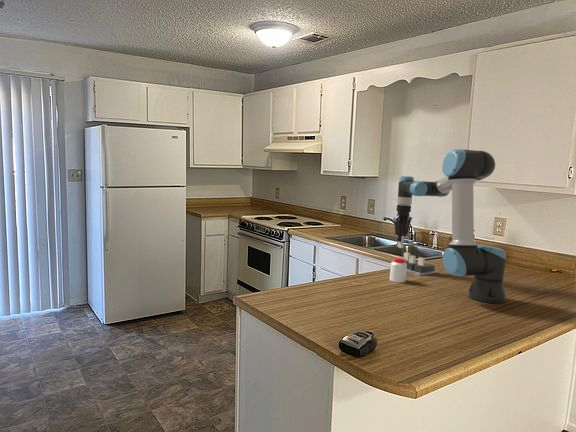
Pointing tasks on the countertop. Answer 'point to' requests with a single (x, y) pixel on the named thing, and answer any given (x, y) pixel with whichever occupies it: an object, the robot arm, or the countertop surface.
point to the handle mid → (412, 259)
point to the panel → (420, 268)
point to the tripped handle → (406, 256)
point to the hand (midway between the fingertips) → (400, 247)
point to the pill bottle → (398, 270)
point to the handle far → (421, 261)
